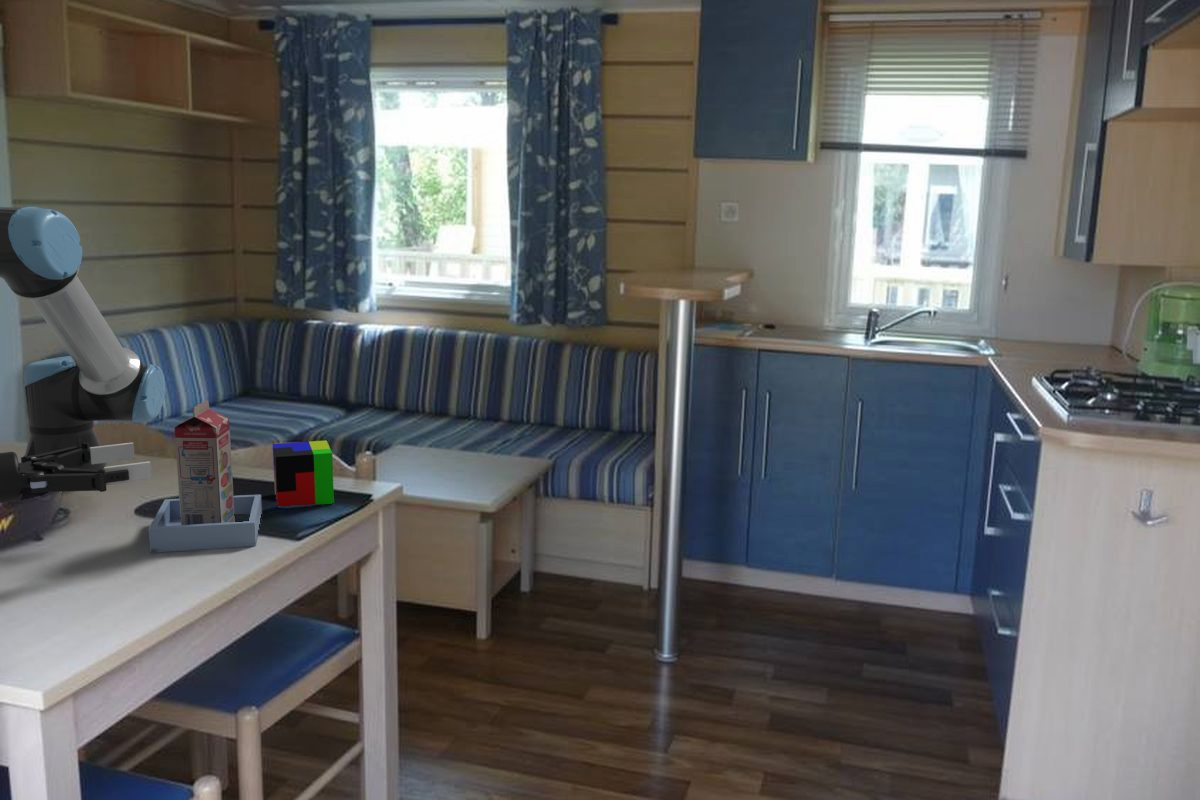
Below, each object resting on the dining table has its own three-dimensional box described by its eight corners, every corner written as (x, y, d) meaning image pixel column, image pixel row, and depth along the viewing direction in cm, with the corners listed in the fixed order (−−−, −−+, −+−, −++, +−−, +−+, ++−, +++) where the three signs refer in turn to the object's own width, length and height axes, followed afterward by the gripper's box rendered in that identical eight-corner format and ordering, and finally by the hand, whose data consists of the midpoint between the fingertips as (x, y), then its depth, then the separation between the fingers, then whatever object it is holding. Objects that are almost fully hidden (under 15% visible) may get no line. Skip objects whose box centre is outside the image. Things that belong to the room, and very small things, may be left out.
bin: (166, 521, 175) (164, 499, 174) (262, 515, 179) (261, 494, 178) (150, 552, 159) (148, 529, 159) (255, 545, 163) (254, 522, 163)
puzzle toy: (274, 494, 192) (272, 444, 190) (328, 489, 195) (326, 440, 193) (278, 509, 183) (275, 456, 181) (334, 504, 186) (332, 452, 184)
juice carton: (181, 536, 165) (173, 407, 161) (196, 523, 172) (188, 398, 168) (222, 536, 166) (214, 407, 161) (235, 523, 172) (228, 399, 168)
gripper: (-15, 482, 160) (129, 464, 171) (-2, 526, 140) (160, 502, 151) (-20, 437, 158) (125, 422, 170) (-7, 475, 138) (156, 455, 150)
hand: (142, 460), depth 161 cm, fingers open, 13 cm apart
